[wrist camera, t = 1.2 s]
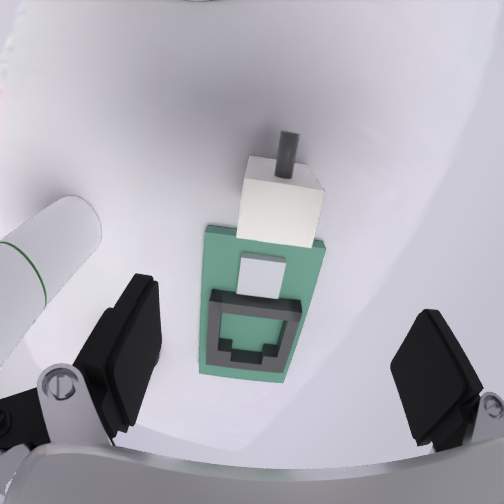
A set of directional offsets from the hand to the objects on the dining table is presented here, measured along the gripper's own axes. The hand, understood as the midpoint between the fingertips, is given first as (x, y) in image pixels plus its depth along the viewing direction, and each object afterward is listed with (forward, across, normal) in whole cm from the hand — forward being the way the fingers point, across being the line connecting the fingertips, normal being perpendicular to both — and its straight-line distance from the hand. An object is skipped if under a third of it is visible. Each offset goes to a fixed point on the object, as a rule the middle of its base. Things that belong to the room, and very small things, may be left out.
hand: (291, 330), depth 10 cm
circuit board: (+18, 0, +15) cm, 23 cm away
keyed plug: (+18, 0, 0) cm, 18 cm away
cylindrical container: (+18, +20, +7) cm, 28 cm away
